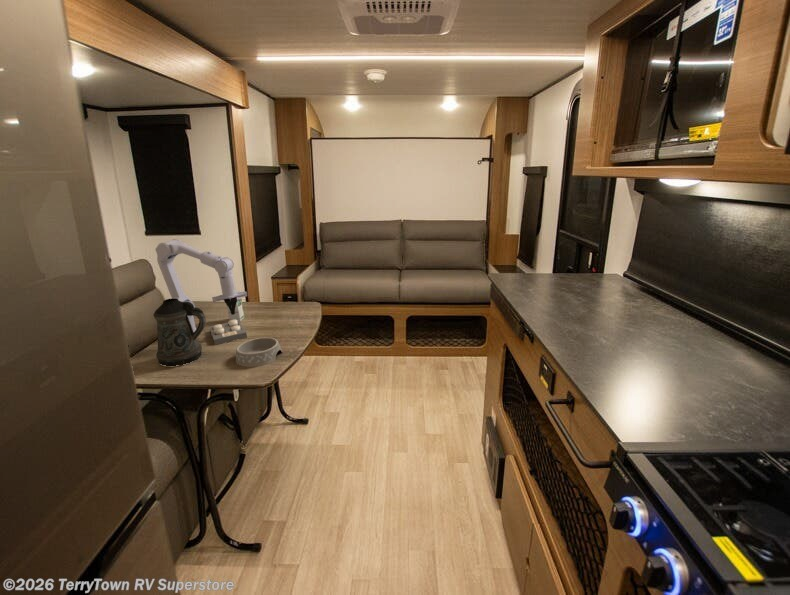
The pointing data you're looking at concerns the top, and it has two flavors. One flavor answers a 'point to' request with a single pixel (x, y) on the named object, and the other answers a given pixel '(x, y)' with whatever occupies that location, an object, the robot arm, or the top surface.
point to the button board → (228, 334)
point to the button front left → (219, 330)
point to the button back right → (232, 323)
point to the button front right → (235, 328)
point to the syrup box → (237, 310)
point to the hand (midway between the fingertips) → (233, 313)
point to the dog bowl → (257, 352)
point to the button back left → (217, 326)
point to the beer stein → (178, 332)
